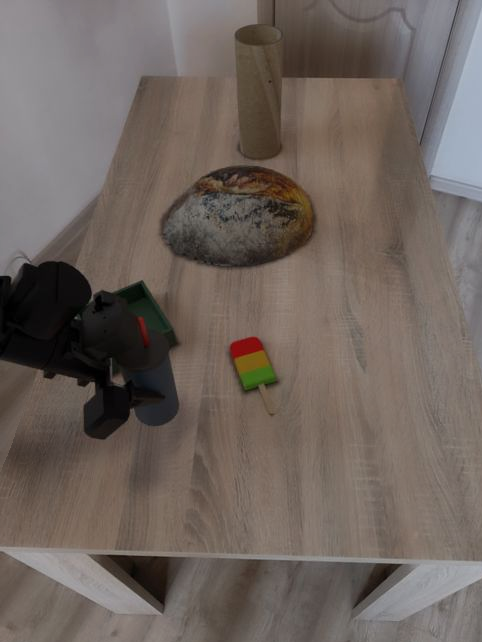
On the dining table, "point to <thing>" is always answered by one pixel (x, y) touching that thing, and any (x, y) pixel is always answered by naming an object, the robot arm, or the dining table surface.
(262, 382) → the popsicle
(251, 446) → the dining table surface
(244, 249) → the bread
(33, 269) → the robot arm
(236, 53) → the tube
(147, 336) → the cup with straw
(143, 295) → the bin
